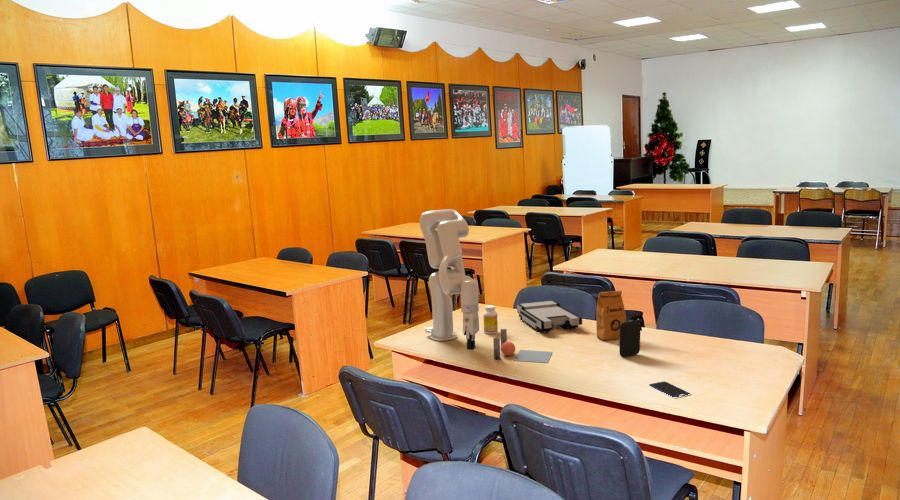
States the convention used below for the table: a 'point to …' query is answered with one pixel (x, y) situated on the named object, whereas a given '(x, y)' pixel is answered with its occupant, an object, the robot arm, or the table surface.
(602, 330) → the coffee package
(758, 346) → the table surface
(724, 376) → the table surface
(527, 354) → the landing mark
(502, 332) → the post
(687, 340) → the table surface
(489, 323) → the supplement bottle
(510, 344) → the ball
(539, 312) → the game console
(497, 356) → the post
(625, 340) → the carrying case or bag
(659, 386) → the cell phone
